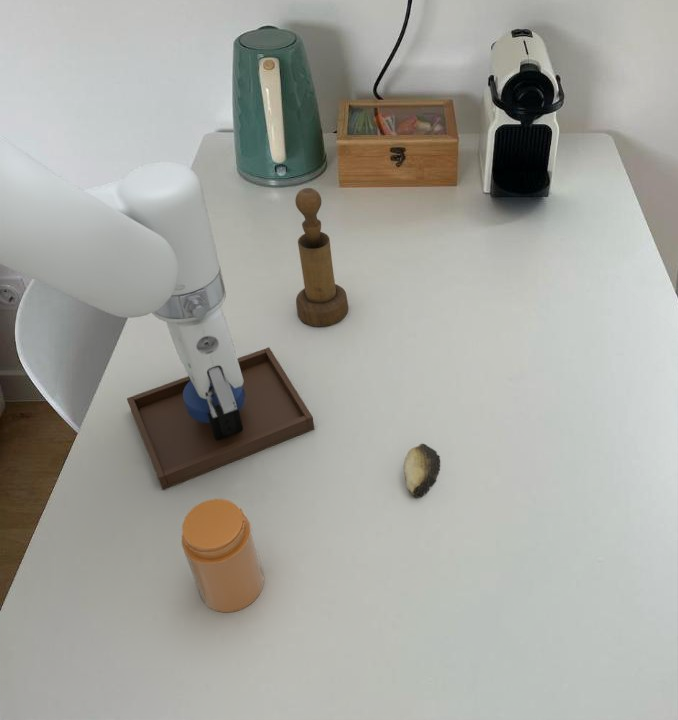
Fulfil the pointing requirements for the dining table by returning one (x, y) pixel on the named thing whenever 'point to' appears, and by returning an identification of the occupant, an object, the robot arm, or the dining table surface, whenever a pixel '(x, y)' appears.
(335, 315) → the mortar and pestle
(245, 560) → the jar
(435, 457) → the nut kernel
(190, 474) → the tray
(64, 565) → the dining table surface
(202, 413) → the lid
